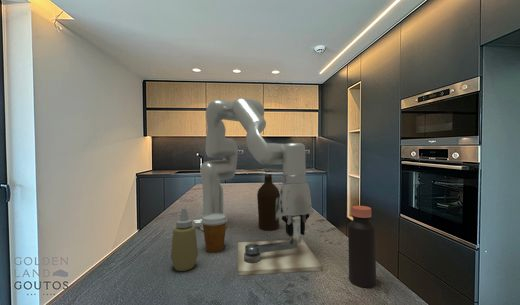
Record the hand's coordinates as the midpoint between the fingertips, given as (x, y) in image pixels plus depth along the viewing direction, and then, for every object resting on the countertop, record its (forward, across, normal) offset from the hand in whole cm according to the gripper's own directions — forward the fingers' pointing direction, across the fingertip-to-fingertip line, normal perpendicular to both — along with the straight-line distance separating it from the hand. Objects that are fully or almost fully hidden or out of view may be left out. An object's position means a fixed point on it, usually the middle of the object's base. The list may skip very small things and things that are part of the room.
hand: (295, 233), depth 80 cm
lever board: (+8, -6, +3) cm, 10 cm away
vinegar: (+8, +10, -19) cm, 23 cm away
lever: (+4, -8, 0) cm, 9 cm away
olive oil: (+8, +2, +33) cm, 34 cm away
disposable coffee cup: (+8, -25, +16) cm, 31 cm away
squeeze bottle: (+8, -36, +5) cm, 37 cm away
